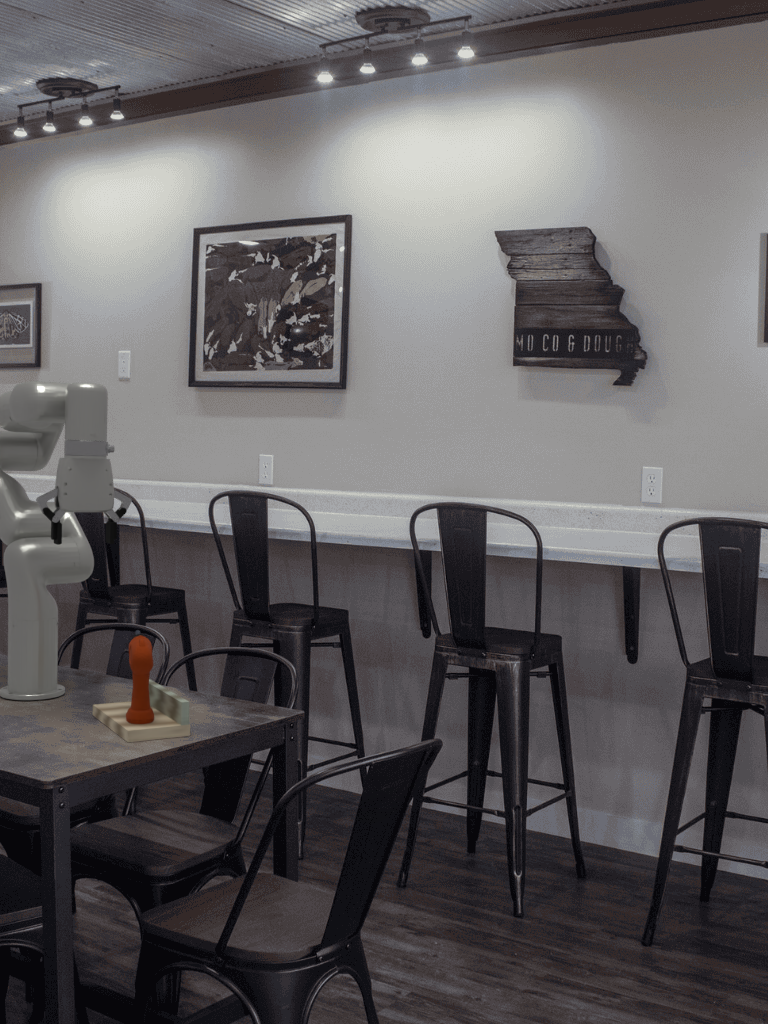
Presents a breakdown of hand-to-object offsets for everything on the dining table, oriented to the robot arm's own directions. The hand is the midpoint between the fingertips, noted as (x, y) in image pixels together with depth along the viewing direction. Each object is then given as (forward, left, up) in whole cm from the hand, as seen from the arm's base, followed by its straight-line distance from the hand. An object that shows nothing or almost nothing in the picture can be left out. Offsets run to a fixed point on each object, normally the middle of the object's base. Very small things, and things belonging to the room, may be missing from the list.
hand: (84, 543), depth 202 cm
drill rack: (+11, +7, -32) cm, 35 cm away
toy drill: (+11, +7, -30) cm, 33 cm away
